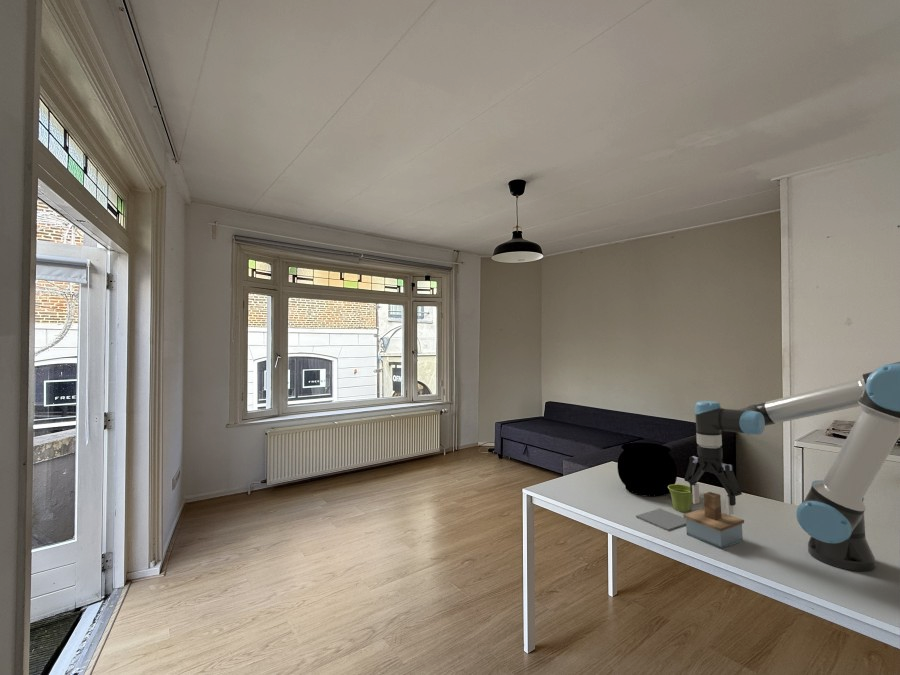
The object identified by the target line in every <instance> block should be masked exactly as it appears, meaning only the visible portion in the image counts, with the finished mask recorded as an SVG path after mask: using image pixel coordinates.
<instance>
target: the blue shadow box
mask: <svg viewBox="0 0 900 675" xmlns="http://www.w3.org/2000/svg"><path fill="white" fill-rule="evenodd" d="M685 526H686V535H687V536H690V537H691V538H694V539H697V540H698V541H701V542H704V543H706V544H708V545H710V546H713V547H715V548H718V549H721V550H722V549H725V548H727V547H730V546H733V545H734V544H737V543H739V542H740V543H741V542H742V541H743V539H744V537H743V524H740V525H738V526H735V527H732V528H730V529H727V530H724V531H718V530H715V529H713V528H710V527H707V526H705V525H702V524H700V523H697V522H694V521H692V520H689V519H686V525H685Z"/></svg>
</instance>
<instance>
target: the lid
mask: <svg viewBox="0 0 900 675" xmlns="http://www.w3.org/2000/svg"><path fill="white" fill-rule="evenodd" d="M721 497H722V496H721V494H719V493H715V492H711V491H708V492H703V504H704V506H703V508H700V509H697V510H694V511H691V512H690V511H689V512H686V513H685V514H683V516H682V517H684V518H686V519H689V520H692V521H694V522H697V523H700V524H702V525H705V526H707V527H710V528H713V529H715V530H718V531H724V530H727V529H730V528H732V527H735V526H738V525H740V524H742V525H743V524H745V520H744V519H742V518H739V517H737V516H733V515H727V513H724V512H722V500H721Z"/></svg>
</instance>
